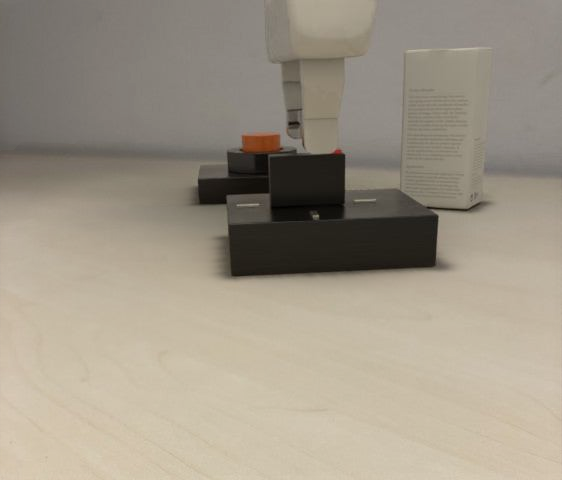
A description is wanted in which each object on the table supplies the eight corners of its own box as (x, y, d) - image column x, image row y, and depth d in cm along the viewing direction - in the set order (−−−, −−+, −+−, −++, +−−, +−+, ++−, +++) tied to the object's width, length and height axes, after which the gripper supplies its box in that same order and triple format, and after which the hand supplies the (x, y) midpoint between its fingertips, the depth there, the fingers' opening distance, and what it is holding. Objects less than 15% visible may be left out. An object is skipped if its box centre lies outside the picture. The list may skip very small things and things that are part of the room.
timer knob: (271, 207, 43) (269, 152, 42) (269, 203, 45) (268, 150, 43) (345, 204, 44) (345, 149, 42) (341, 200, 45) (341, 147, 44)
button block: (199, 204, 63) (196, 157, 61) (201, 187, 72) (198, 146, 70) (332, 198, 63) (332, 152, 62) (317, 182, 73) (317, 142, 71)
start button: (243, 156, 64) (242, 136, 64) (241, 152, 68) (241, 133, 67) (282, 155, 65) (281, 134, 64) (279, 150, 68) (278, 131, 67)
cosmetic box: (482, 202, 60) (496, 47, 55) (467, 211, 56) (480, 46, 52) (414, 198, 63) (422, 50, 58) (396, 205, 59) (402, 49, 55)
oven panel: (231, 275, 40) (228, 220, 39) (228, 238, 50) (226, 192, 48) (435, 266, 41) (439, 212, 40) (396, 231, 50) (397, 185, 49)
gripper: (239, -87, 46) (249, 133, 52) (255, -196, 28) (268, 166, 33) (334, -89, 47) (334, 130, 52) (412, -198, 28) (400, 161, 34)
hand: (309, 144), depth 43 cm, fingers open, 8 cm apart
